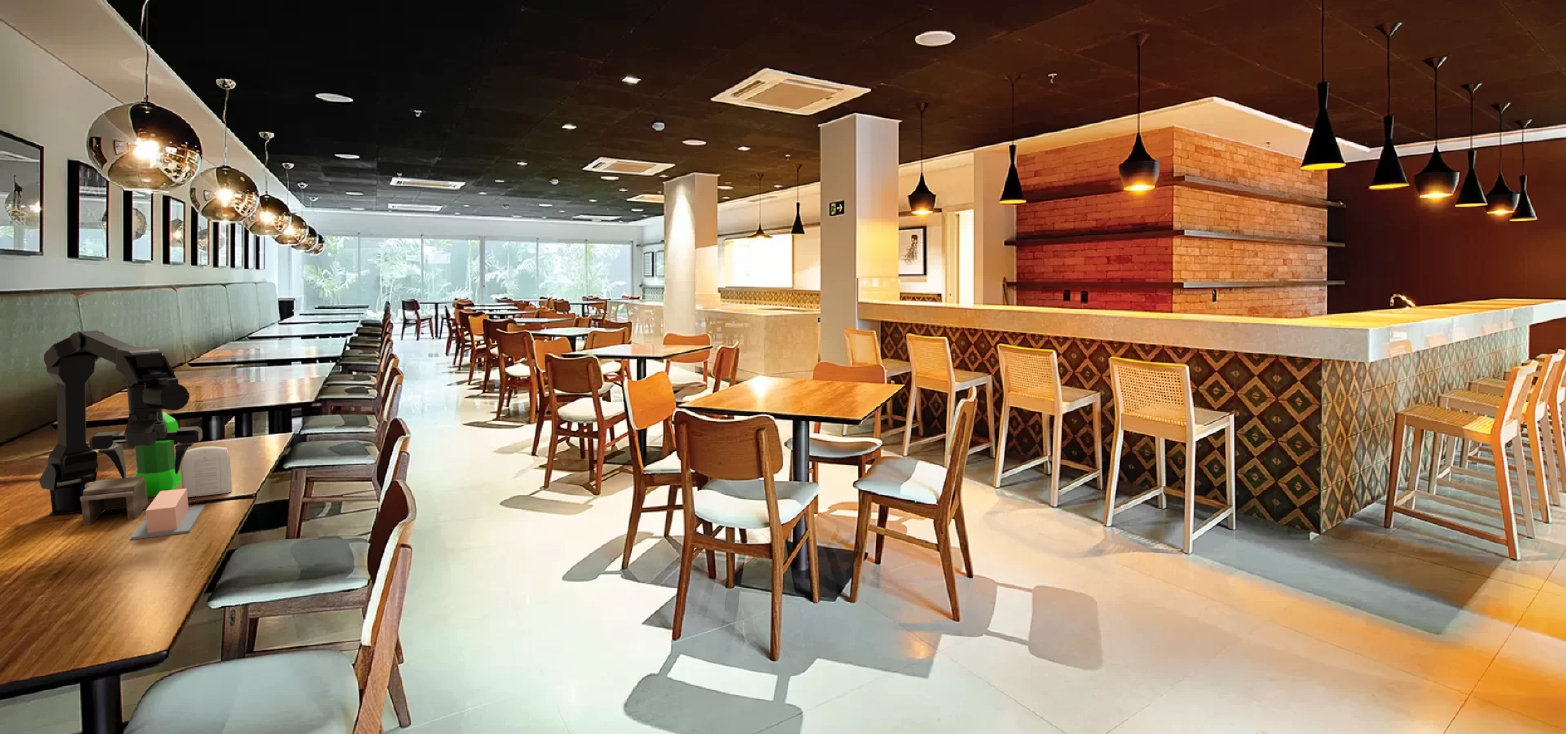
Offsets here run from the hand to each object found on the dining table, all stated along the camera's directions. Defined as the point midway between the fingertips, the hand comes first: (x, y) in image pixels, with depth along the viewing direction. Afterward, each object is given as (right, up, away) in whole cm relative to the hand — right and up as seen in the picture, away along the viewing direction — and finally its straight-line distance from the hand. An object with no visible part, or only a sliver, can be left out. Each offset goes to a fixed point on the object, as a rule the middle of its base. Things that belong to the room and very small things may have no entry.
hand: (150, 475), depth 172 cm
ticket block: (+1, -11, +4) cm, 11 cm away
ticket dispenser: (-15, -10, +9) cm, 21 cm away
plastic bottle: (-19, -9, +26) cm, 34 cm away
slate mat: (+1, -11, +4) cm, 12 cm away
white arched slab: (-7, -9, +26) cm, 28 cm away
